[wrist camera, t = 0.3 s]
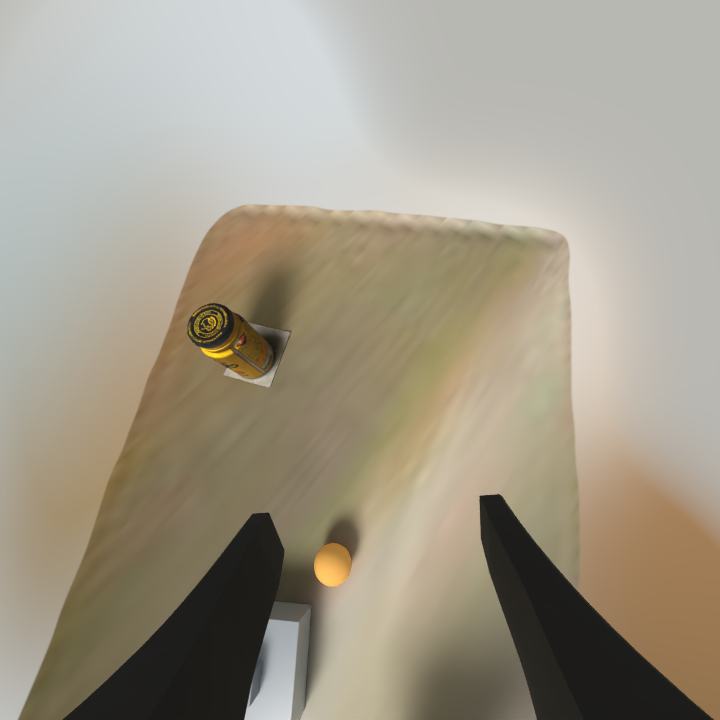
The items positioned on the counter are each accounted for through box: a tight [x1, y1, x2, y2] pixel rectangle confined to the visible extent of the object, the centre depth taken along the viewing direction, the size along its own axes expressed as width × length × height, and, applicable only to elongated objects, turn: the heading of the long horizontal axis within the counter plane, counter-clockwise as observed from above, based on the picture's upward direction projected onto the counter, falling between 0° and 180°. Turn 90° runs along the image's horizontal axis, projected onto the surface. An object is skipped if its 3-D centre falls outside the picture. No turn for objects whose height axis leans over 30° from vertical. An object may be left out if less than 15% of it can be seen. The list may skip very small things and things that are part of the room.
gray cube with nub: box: [244, 601, 312, 720], centre depth 33 cm, size 9×9×7 cm
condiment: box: [187, 303, 290, 388], centre depth 42 cm, size 7×8×12 cm
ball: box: [314, 543, 351, 586], centre depth 36 cm, size 4×4×4 cm
